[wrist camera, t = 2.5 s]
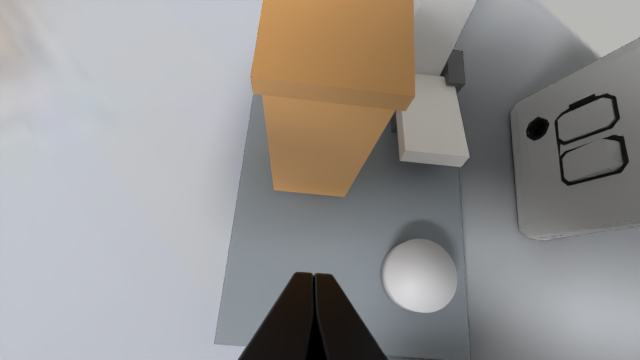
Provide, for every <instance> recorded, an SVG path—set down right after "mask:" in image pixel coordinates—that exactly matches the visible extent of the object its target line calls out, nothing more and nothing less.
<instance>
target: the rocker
mask: <svg viewBox="0 0 640 360" xmlns="http://www.w3.org/2000/svg"><path fill="white" fill-rule="evenodd" d="M396 121H397V133H398V146H399V158H400V161H407V162H416V163H426V164H435V165H445V166H455V167H462V166H463V164H464V163H465V162H466V161H467V160H468V158H469V157H470V156H469V151H468V146H467V142H466V137H465V132H464V127H463V123H462V118H461V113H460V108H459V103H458V99H457V94H456V89H455V86H446V82H445V77H442V76H434V75H426V74H417V73H415V98H414V99H413V101H412V102H411V104H410V105H409V107H408V108H407V110H406V111H398V110H396Z"/></svg>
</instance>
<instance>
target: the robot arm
mask: <svg viewBox="0 0 640 360" xmlns="http://www.w3.org/2000/svg"><path fill="white" fill-rule="evenodd" d="M238 360H388V359H387V357H386V356H385V354H384V353H383V351H382V349H381V348H380V346H379V345H378V343H377V342H376V340H375V339H374V337H373V336H372V334H371V333H370V331H369V330H368V328H367V326H366V325H365V323H364V322H363V320H362V319H361V317H360V316H359V314H358V313H357V311H356V310H355V308H354V307H353V305H352V303H351V302H350V300H349V299H348V297H347V296H346V294H345V293H344V291H343V290H342V288H341V287H340V285H339V284H338V282H337V280H336V279H335V277H334V276H333V275H332V274H327V273H315V274H314V276H313V274H312V273H310V272H295V273H294V274H293V275H292V277H291V278H290V280H289V281H288V283H287V285H286V286H285V288H284V289H283V291H282V292H281V294H280V295H279V297H278V298H277V300H276V302H275V303H274V305H273V306H272V308H271V309H270V311H269V312H268V314H267V315H266V317H265V318H264V320H263V322H262V323H261V325H260V326H259V328H258V329H257V331H256V332H255V334H254V335H253V337H252V339H251V340H250V342H249V343H248V345H247V346H246V348H245V349H244V351H243V352H242V354H241V355H240V357H239V359H238Z"/></svg>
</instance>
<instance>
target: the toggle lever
mask: <svg viewBox="0 0 640 360" xmlns="http://www.w3.org/2000/svg"><path fill="white" fill-rule="evenodd" d="M476 1H477V0H415V1H414V53H415V73H417V74H426V75H434V76H440V74H441V72H442V70H443V68H444V66H445V64H446V62H447V60H448V58H449V56H450V54H451V52H452V50H453V48H454V46H455V44H456V42H457V40H458V38H459V35H460V33H461V31H462V29H463V27H464V25H465V23H466V21H467V19H468V17H469V15H470V13H471V11H472V9H473V7H474V5H475V3H476Z"/></svg>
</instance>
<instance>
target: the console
mask: <svg viewBox="0 0 640 360" xmlns="http://www.w3.org/2000/svg"><path fill="white" fill-rule="evenodd" d="M440 76H442V77H445V82H446V86H455V89H456V94H457V93H458V92H459V90H460V89H461V88H462V87H463V86H464V85H465V75H464V62H463V51H459V50H452V52H451V54H450V56H449V58H448V60H447V62H446V64H445V66H444V68H443V70H442V72H441V74H440ZM295 272H310V273H312V274H313V276H314V274H315V273H327V274H332V275H333V276H334V277H335V279H336V280H337V282H338V284H339V285H340V287H341V288H342V290H343V291H344V293H345V294H346V296H347V297H348V299H349V300H350V302H351V303H352V305H353V307H354V308H355V310H356V311H357V313H358V314H359V316H360V317H361V319H362V320H363V322H364V323H365V325H366V326H367V328H368V330H369V331H370V333H371V334H372V336H373V337H374V339H375V340H376V342H377V343H378V345H379V346H380V348H381V349H382V351H383V353H384V354H385V356H396V357H411V358H426V359H440V360H471V357H470V341H469V325H468V309H467V293H466V277H465V261H464V245H463V229H462V213H461V197H460V181H459V167H455V166H445V165H435V164H426V163H416V162H407V161H400V158H399V146H398V133H397V121H396V110H395V112H394V114H393V115H392V117H391V119H390V120H389V122H388V124H387V126H386V127H385V129H384V131H383V132H382V134H381V136H380V138H379V139H378V141H377V143H376V144H375V146H374V148H373V149H372V151H371V153H370V155H369V156H368V158H367V160H366V161H365V163H364V165H363V166H362V168H361V170H360V172H359V173H358V175H357V177H356V178H355V180H354V182H353V184H352V185H351V187H350V189H349V190H348V192H347V194H346V195H345V197H338V196H327V195H317V194H307V193H296V192H286V191H276V190H274V188H273V180H272V171H271V163H270V155H269V147H268V139H267V131H266V123H265V115H264V107H263V99H262V95H258V94H253V100H252V106H251V113H250V119H249V125H248V132H247V138H246V144H245V151H244V157H243V163H242V170H241V176H240V182H239V189H238V195H237V201H236V208H235V214H234V220H233V227H232V233H231V239H230V246H229V252H228V258H227V264H226V271H225V277H224V283H223V290H222V296H221V302H220V309H219V315H218V321H217V328H216V334H215V340H214V344H219V345H234V346H247V345H248V343H249V342H250V340H251V339H252V337H253V335H254V334H255V332H256V331H257V329H258V328H259V326H260V325H261V323H262V322H263V320H264V318H265V317H266V315H267V314H268V312H269V311H270V309H271V308H272V306H273V305H274V303H275V302H276V300H277V298H278V297H279V295H280V294H281V292H282V291H283V289H284V288H285V286H286V285H287V283H288V281H289V280H290V278H291V277H292V275H293V274H294V273H295Z"/></svg>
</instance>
